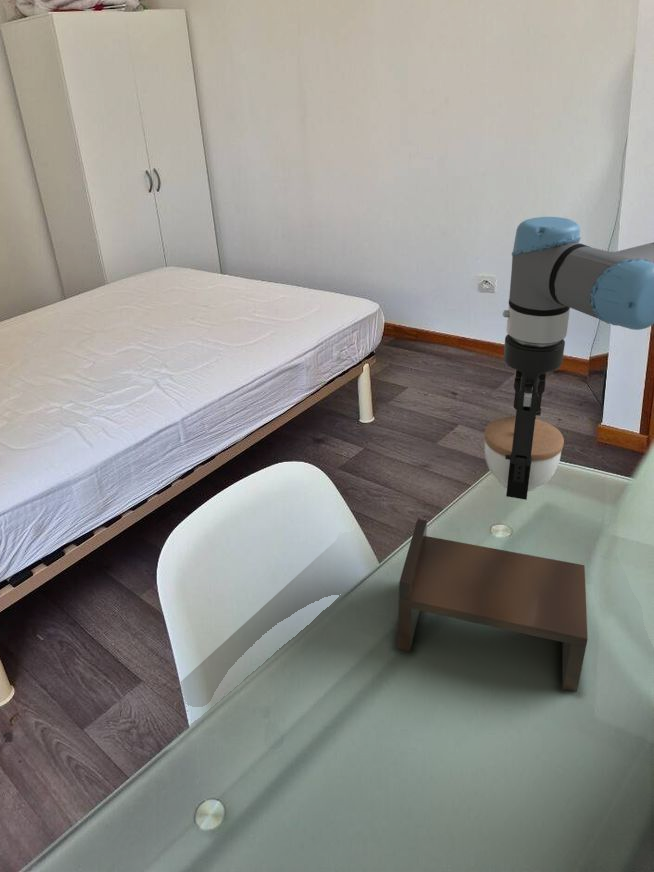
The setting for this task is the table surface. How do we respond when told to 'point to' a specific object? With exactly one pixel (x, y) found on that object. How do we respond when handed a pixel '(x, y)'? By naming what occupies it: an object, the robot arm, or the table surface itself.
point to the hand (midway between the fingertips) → (519, 474)
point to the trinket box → (543, 451)
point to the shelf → (495, 594)
